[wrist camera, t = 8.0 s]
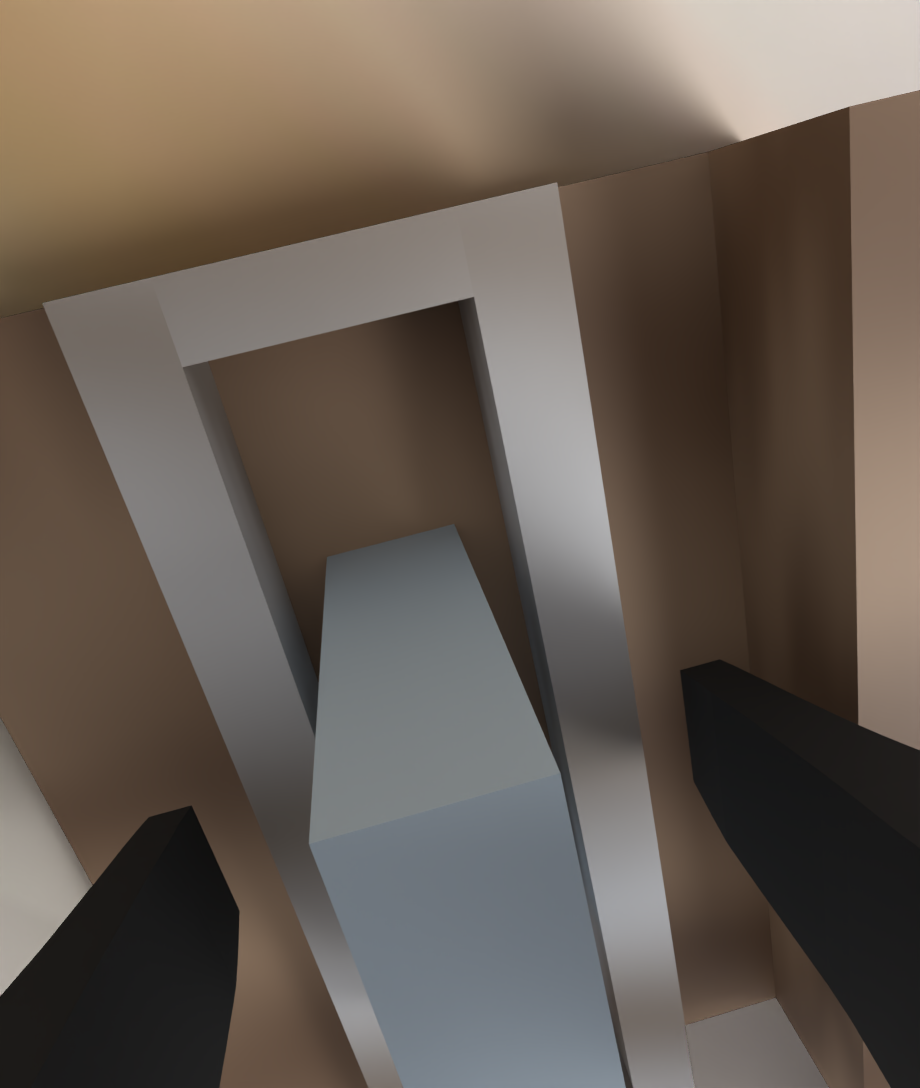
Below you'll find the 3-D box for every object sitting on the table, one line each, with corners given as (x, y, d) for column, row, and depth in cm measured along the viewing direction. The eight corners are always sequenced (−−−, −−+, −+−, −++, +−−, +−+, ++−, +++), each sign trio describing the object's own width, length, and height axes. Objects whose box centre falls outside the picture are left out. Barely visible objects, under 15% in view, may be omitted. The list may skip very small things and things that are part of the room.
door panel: (543, 900, 14) (670, 1304, 9) (443, 929, 14) (508, 1357, 9) (454, 524, 11) (560, 773, 6) (327, 556, 11) (308, 843, 6)
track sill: (797, 953, 17) (915, 1131, 14) (248, 1119, 16) (221, 1353, 13) (748, 144, 11) (945, 84, 7) (-154, 356, 10) (-425, 404, 6)
